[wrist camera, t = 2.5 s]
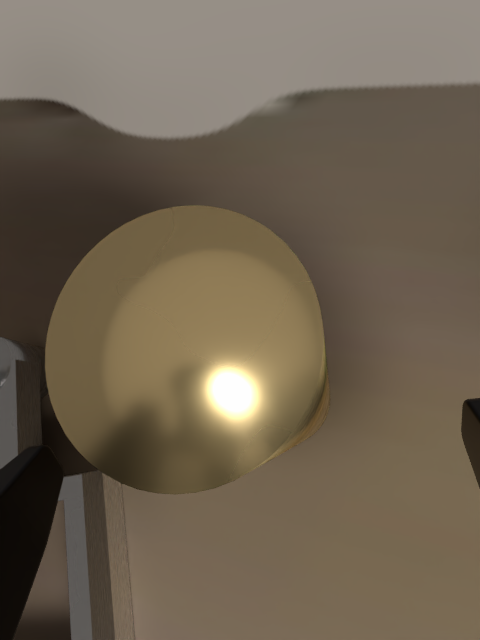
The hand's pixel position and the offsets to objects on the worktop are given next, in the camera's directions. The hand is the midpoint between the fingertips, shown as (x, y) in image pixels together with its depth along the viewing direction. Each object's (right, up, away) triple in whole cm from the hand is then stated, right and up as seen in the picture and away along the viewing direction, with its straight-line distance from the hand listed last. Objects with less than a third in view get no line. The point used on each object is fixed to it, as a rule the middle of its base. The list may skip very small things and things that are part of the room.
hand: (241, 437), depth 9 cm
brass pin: (+2, -1, +9) cm, 9 cm away
